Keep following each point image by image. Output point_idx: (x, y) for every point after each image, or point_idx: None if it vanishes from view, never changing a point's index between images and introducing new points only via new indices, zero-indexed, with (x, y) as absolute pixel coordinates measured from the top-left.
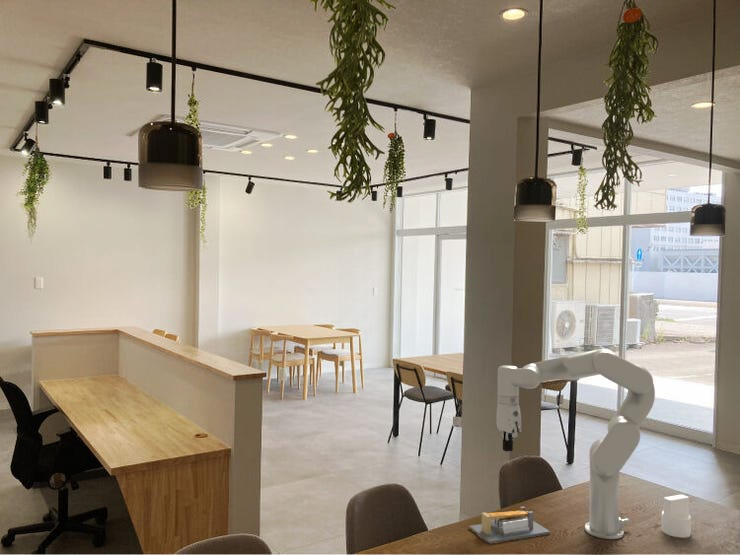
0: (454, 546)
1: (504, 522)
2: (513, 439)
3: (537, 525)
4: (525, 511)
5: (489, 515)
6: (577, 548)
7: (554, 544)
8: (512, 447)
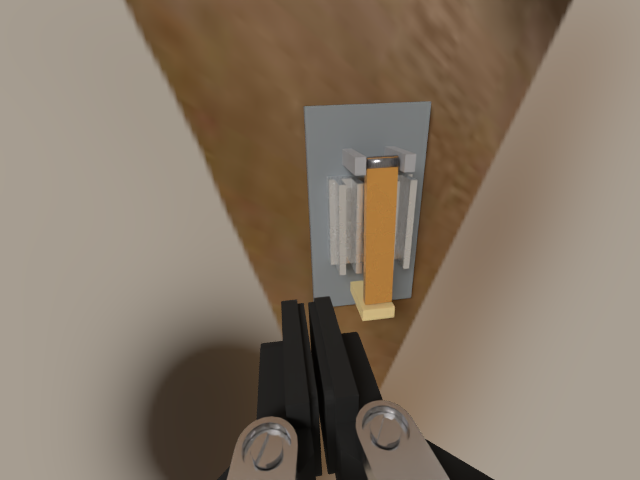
0: (386, 358)
1: (405, 262)
2: (407, 414)
3: (377, 115)
4: (381, 167)
5: (388, 308)
6: (533, 79)
7: (482, 133)
8: (334, 316)
